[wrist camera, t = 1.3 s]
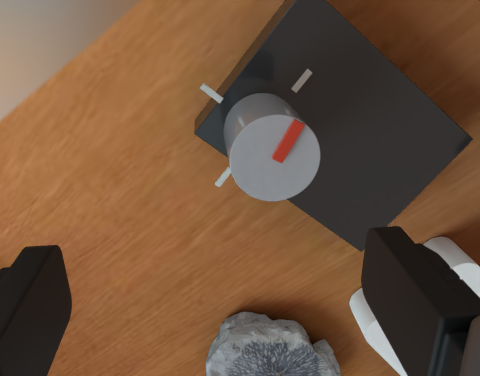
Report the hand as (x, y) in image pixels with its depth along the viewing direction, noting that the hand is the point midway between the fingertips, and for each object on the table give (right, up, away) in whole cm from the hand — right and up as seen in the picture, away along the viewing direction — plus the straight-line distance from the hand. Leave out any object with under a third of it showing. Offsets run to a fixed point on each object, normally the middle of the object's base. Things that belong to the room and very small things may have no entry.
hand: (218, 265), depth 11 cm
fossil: (+3, -12, +25) cm, 28 cm away
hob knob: (+2, +5, +14) cm, 15 cm away
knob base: (+5, +6, +17) cm, 19 cm away
